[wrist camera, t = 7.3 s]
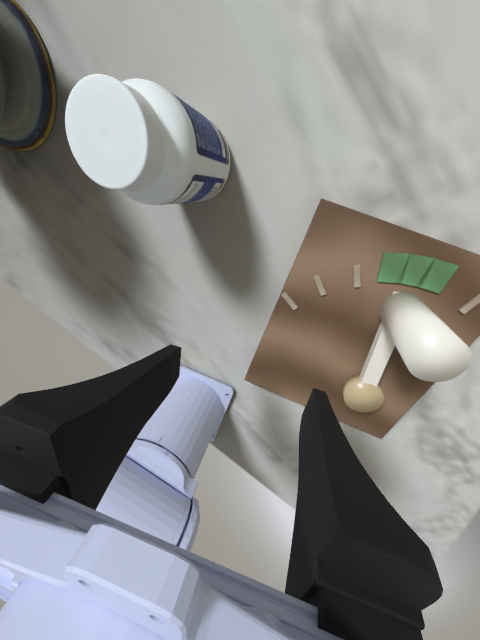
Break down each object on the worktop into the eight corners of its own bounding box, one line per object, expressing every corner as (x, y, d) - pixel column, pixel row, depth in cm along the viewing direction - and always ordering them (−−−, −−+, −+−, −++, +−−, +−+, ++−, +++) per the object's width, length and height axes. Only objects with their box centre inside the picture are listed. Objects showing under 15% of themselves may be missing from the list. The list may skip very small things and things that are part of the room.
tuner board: (378, 428, 25) (381, 440, 24) (247, 372, 26) (243, 381, 25) (522, 270, 17) (538, 276, 16) (321, 198, 18) (321, 198, 17)
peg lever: (373, 406, 22) (396, 486, 16) (338, 397, 23) (347, 471, 17) (426, 291, 17) (488, 343, 11) (379, 283, 18) (414, 329, 12)
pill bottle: (168, 109, 18) (39, 33, 10) (239, 127, 17) (169, 62, 9) (162, 192, 21) (56, 190, 12) (223, 210, 20) (158, 221, 12)
